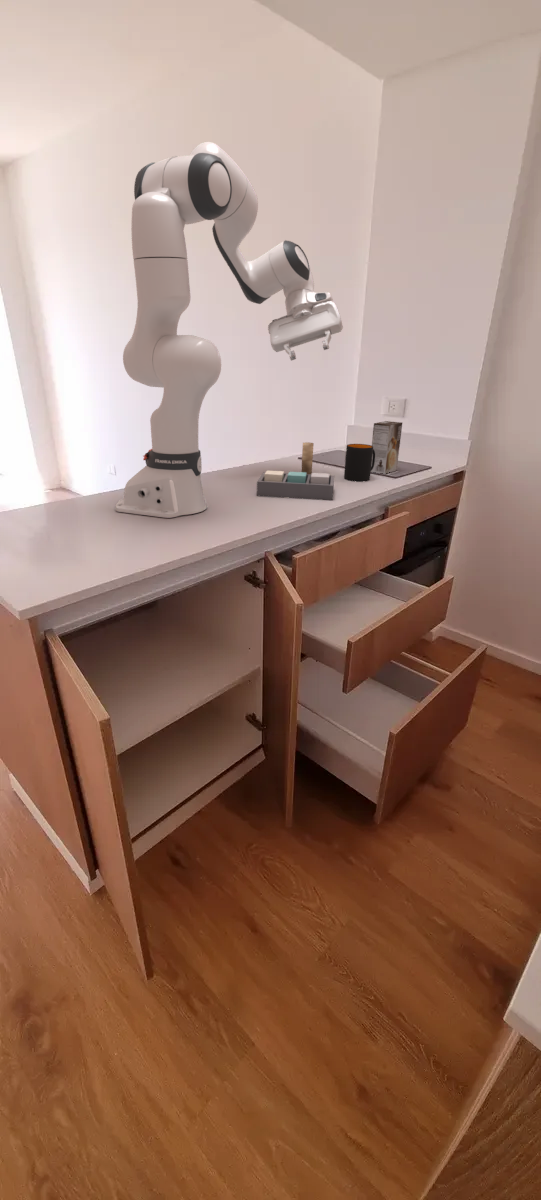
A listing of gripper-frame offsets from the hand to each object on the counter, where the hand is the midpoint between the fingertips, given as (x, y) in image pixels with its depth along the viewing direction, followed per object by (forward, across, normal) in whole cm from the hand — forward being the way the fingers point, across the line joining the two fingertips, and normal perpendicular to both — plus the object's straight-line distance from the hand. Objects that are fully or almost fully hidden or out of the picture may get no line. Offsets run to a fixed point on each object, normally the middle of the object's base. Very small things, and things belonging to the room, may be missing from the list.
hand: (309, 353), depth 143 cm
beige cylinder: (+28, -10, +21) cm, 36 cm away
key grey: (+34, -5, +11) cm, 36 cm away
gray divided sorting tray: (+34, -11, +11) cm, 38 cm away
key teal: (+32, -11, +10) cm, 35 cm away
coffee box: (+19, +13, +47) cm, 52 cm away
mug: (+25, +6, +34) cm, 43 cm away
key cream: (+31, -17, +8) cm, 36 cm away
